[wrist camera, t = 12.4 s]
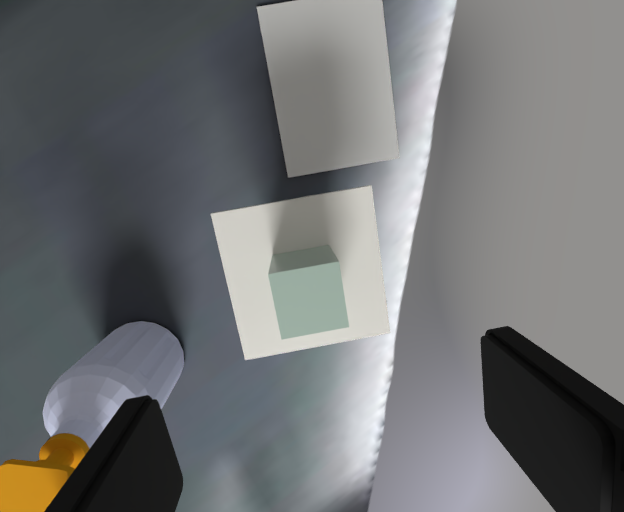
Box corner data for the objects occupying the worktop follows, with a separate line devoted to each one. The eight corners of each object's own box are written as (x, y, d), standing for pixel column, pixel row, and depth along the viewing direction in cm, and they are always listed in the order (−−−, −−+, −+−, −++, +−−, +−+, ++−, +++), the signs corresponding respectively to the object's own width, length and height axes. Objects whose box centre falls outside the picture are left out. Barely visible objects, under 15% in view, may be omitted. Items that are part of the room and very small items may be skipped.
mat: (257, 8, 33) (256, 6, 32) (379, -12, 33) (380, -14, 33) (288, 177, 36) (288, 177, 36) (398, 158, 37) (399, 158, 36)
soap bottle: (108, 313, 38) (-197, 537, 14) (190, 327, 39) (35, 557, 15) (101, 384, 40) (-180, 689, 16) (180, 395, 41) (27, 698, 17)
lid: (213, 212, 24) (189, 223, 18) (368, 185, 24) (393, 187, 18) (247, 353, 26) (234, 403, 20) (386, 327, 27) (413, 369, 21)
